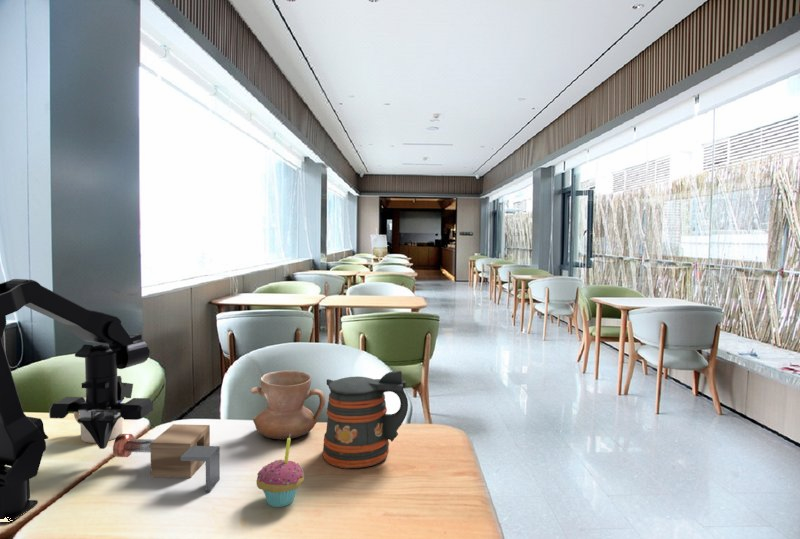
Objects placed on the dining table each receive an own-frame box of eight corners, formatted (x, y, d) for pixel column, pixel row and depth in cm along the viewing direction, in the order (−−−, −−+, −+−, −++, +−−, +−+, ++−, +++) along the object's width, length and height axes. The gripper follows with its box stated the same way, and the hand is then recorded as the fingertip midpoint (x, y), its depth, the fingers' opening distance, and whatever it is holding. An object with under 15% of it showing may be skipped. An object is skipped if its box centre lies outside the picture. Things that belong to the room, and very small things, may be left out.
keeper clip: (210, 491, 96) (209, 457, 96) (181, 491, 96) (180, 456, 96) (219, 479, 101) (219, 446, 101) (192, 478, 101) (191, 445, 101)
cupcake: (285, 484, 100) (285, 424, 99) (314, 499, 94) (314, 436, 94) (247, 502, 93) (246, 438, 92) (275, 519, 88) (275, 451, 87)
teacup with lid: (132, 430, 126) (131, 384, 125) (104, 445, 117) (103, 395, 116) (90, 426, 128) (89, 380, 127) (59, 440, 119) (58, 391, 118)
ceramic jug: (242, 444, 118) (243, 384, 117) (258, 421, 133) (259, 367, 132) (320, 446, 119) (321, 387, 118) (327, 423, 133) (328, 369, 132)
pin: (181, 462, 105) (181, 440, 104) (113, 460, 105) (112, 438, 104) (191, 452, 109) (190, 431, 109) (125, 451, 109) (125, 430, 109)
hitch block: (190, 477, 102) (190, 443, 102) (150, 476, 102) (150, 442, 102) (209, 456, 112) (209, 425, 112) (173, 455, 112) (173, 424, 112)
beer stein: (411, 446, 119) (413, 361, 118) (402, 474, 105) (404, 379, 104) (333, 439, 122) (334, 357, 121) (313, 466, 108) (314, 373, 107)
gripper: (164, 365, 114) (165, 433, 115) (81, 364, 114) (82, 432, 115) (138, 379, 103) (140, 455, 104) (46, 378, 103) (48, 453, 104)
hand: (103, 448), depth 107 cm, fingers closed
